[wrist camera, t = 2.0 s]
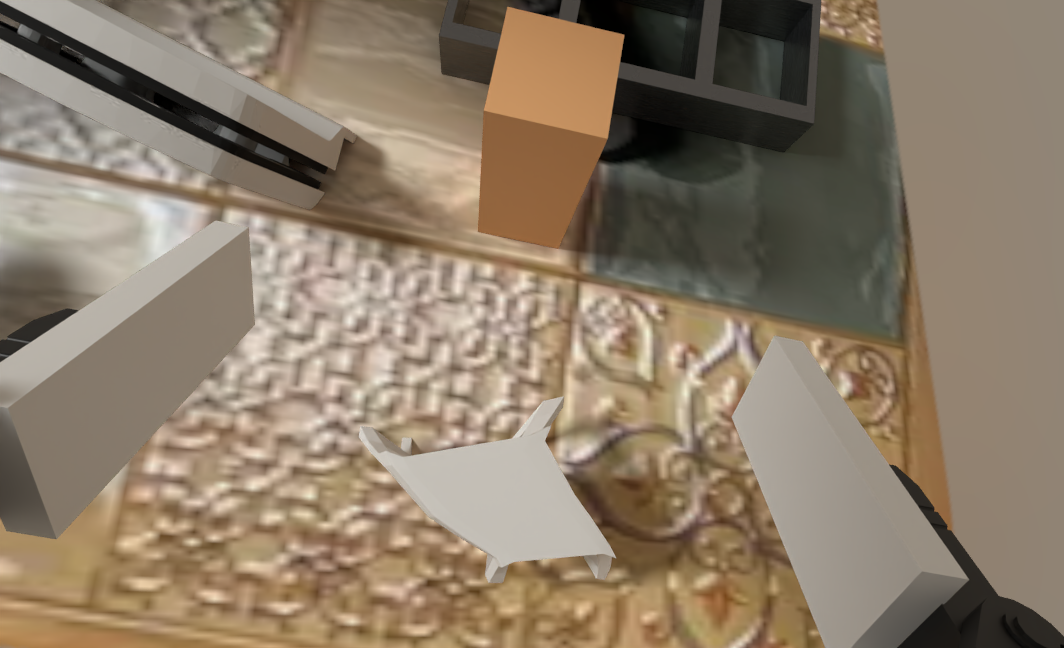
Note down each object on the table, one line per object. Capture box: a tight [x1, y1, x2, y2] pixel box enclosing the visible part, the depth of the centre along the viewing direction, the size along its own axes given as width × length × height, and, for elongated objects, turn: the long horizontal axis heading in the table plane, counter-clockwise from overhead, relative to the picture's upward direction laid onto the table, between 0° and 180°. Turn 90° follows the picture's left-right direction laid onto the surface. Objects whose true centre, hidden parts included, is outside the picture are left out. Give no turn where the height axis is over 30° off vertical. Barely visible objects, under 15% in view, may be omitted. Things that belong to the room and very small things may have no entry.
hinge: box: [0, 0, 357, 210], centre depth 26 cm, size 17×5×10 cm, turn 64°
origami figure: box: [359, 397, 616, 583], centre depth 25 cm, size 12×8×5 cm
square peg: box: [478, 7, 624, 249], centre depth 25 cm, size 4×4×11 cm
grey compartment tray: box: [439, 0, 821, 152], centre depth 32 cm, size 21×9×3 cm, turn 80°
